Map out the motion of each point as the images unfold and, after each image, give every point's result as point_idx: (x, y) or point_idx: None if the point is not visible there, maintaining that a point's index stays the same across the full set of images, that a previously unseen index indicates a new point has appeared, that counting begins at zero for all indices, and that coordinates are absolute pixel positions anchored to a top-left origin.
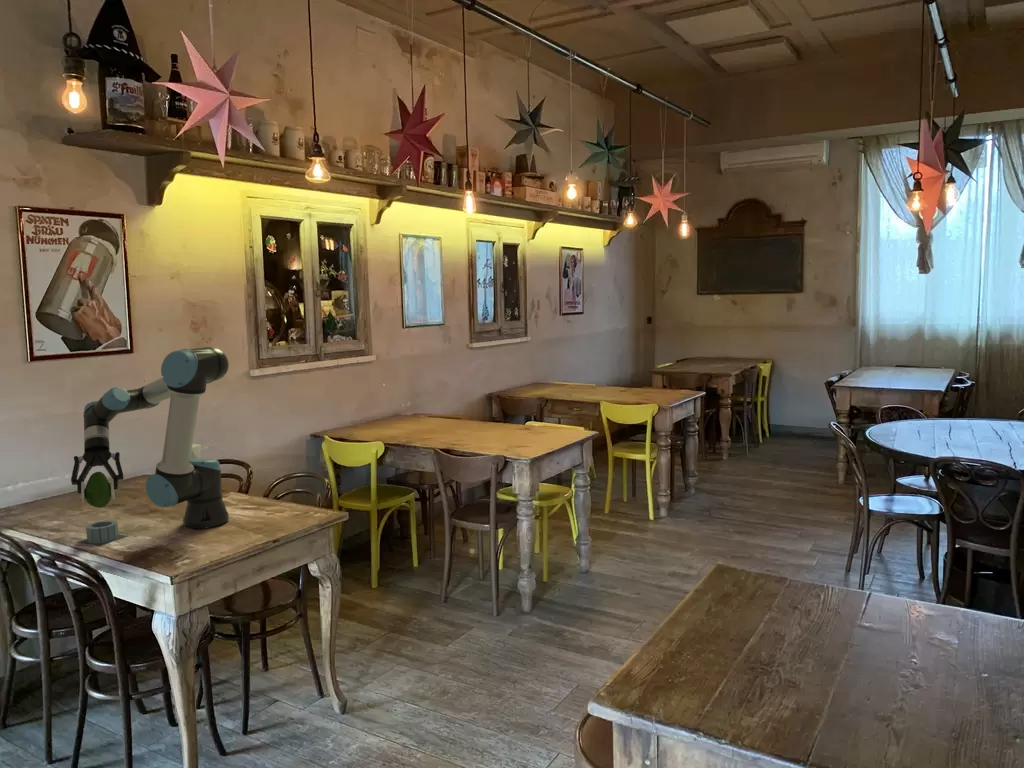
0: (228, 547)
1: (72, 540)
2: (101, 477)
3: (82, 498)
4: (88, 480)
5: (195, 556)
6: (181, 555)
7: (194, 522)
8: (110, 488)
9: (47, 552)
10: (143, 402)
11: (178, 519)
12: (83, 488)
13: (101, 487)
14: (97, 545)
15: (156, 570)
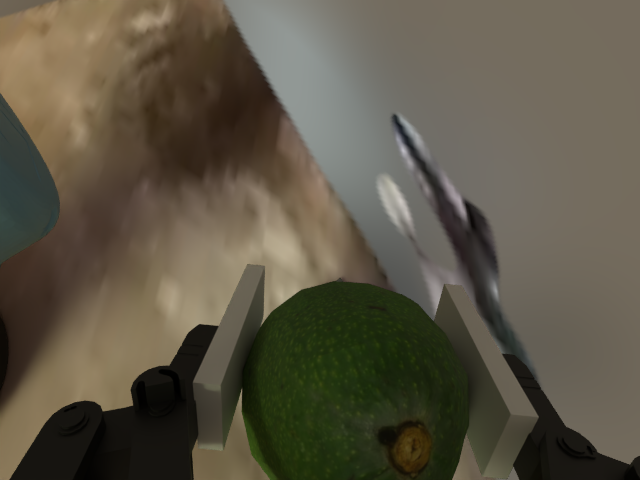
0: (9, 56)
1: None
2: (324, 320)
3: (455, 285)
4: (463, 376)
5: (112, 39)
6: (139, 65)
7: None
8: (253, 343)
9: (507, 329)
10: None
11: None
12: (479, 346)
13: (328, 288)
14: None
15: (223, 3)
